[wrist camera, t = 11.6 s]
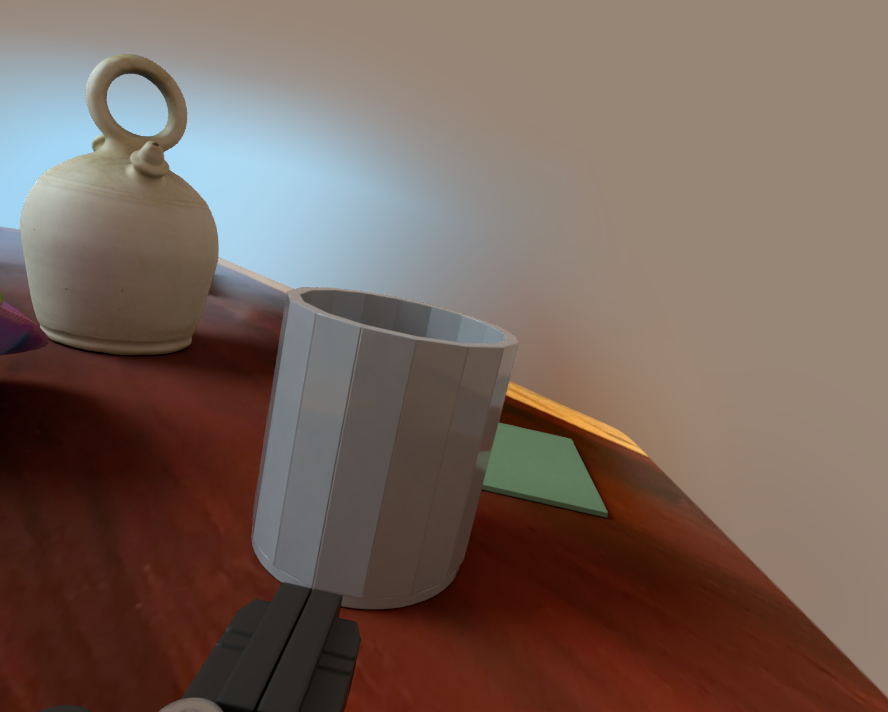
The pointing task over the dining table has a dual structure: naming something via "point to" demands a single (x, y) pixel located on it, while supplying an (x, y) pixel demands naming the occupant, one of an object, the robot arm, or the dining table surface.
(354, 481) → the faceted pen holder
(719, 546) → the dining table surface
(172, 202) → the jug
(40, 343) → the decorative fish
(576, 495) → the cloth
